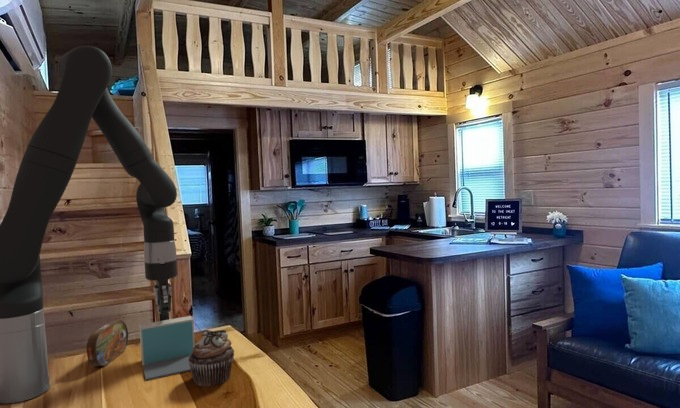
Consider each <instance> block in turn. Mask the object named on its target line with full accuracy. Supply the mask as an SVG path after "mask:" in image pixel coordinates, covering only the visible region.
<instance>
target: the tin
mask: <svg viewBox="0 0 680 408" xmlns="http://www.w3.org/2000/svg"><path fill="white" fill-rule="evenodd" d="M128 341H129V332H128V326H127V324H126V323H125V321H123V320H114V321H113V320H112V321H109V322H107V323H105V325H103V326H101V327H100V328H98V329H97V330H95V331H94V332H92V333H91V334H90V335H89V337H88V339H87V342H86V345H85V346H86V355H87V356H86V357H87V361H88V363H89V364H90V366H92V367H105V366H108V365H109V364H110V363H112V362H113V361H114V360H116V359H117V358H118V357H120V356H121V355H122V354H123V353H124V352H125V350H126V349H127V345H128Z"/></svg>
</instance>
